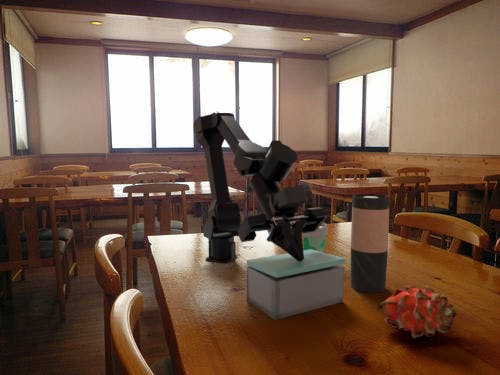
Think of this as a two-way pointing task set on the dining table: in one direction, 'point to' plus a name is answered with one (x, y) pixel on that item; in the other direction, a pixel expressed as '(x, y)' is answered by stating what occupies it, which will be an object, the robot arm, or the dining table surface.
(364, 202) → the travel mug
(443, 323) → the dragon fruit
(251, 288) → the grey rectangular box
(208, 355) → the dining table surface
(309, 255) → the mint green lid
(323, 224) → the food container
